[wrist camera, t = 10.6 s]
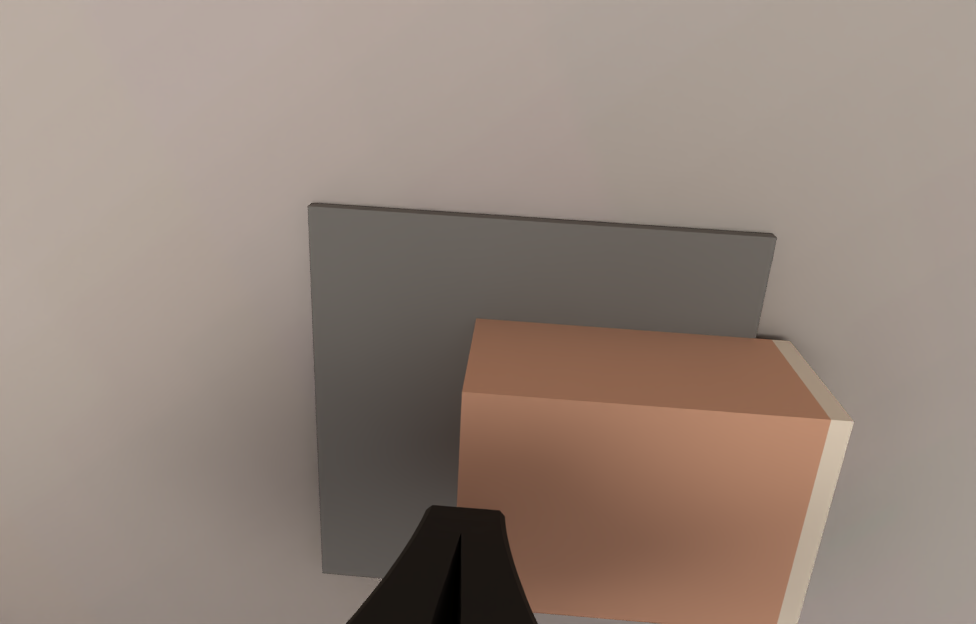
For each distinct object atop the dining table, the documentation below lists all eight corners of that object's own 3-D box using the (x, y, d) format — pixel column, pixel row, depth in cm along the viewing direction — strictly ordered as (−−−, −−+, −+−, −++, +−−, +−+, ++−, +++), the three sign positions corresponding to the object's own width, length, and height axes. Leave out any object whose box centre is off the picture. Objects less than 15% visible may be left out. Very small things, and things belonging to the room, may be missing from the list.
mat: (697, 596, 19) (699, 605, 19) (325, 565, 20) (322, 573, 19) (772, 234, 16) (776, 237, 15) (311, 203, 16) (307, 206, 16)
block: (466, 501, 18) (747, 524, 18) (452, 605, 15) (794, 634, 15) (476, 318, 16) (789, 340, 16) (462, 392, 13) (853, 421, 13)
